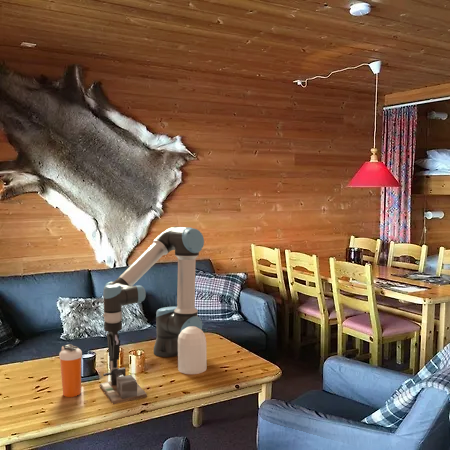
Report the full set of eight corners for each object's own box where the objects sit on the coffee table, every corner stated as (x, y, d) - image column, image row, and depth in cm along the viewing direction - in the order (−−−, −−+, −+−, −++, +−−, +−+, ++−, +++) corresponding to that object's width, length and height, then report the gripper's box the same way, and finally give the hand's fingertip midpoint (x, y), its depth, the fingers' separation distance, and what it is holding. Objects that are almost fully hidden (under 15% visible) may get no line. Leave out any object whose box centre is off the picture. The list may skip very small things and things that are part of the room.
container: (172, 368, 236) (171, 326, 234) (194, 361, 245) (194, 321, 243) (189, 376, 226) (188, 332, 224) (212, 369, 235) (212, 327, 233)
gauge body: (99, 386, 216) (99, 369, 215) (131, 379, 223) (131, 364, 222) (112, 404, 198) (112, 386, 198) (146, 396, 205) (146, 379, 204)
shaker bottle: (70, 400, 202) (69, 351, 201) (55, 395, 207) (54, 347, 205) (87, 392, 210) (86, 345, 208) (73, 387, 215) (71, 341, 213)
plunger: (103, 385, 213) (102, 371, 213) (124, 380, 218) (124, 367, 217) (109, 393, 205) (108, 378, 205) (131, 388, 210) (131, 374, 209)
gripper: (100, 318, 222) (101, 370, 224) (108, 325, 211) (109, 380, 213) (117, 316, 226) (118, 367, 228) (125, 323, 214) (127, 377, 216)
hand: (114, 374), depth 220 cm, fingers closed
